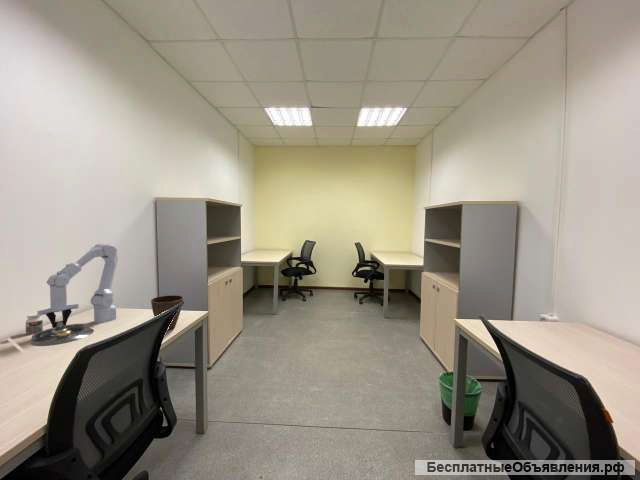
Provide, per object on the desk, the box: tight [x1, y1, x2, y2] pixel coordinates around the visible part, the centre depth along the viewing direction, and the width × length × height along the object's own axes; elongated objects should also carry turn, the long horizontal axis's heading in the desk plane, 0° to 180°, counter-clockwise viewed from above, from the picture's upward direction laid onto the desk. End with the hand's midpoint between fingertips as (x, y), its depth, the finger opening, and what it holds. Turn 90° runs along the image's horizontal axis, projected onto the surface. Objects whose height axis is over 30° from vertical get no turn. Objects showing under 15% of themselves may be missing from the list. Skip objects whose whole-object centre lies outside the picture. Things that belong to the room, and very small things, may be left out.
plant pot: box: [150, 294, 184, 331], centre depth 144 cm, size 15×15×16 cm
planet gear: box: [52, 319, 67, 335], centre depth 132 cm, size 6×6×6 cm
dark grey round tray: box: [30, 322, 95, 347], centre depth 129 cm, size 22×22×3 cm
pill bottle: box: [25, 312, 44, 336], centre depth 133 cm, size 6×6×10 cm
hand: (59, 326), depth 132 cm, fingers closed on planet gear, 3 cm apart
